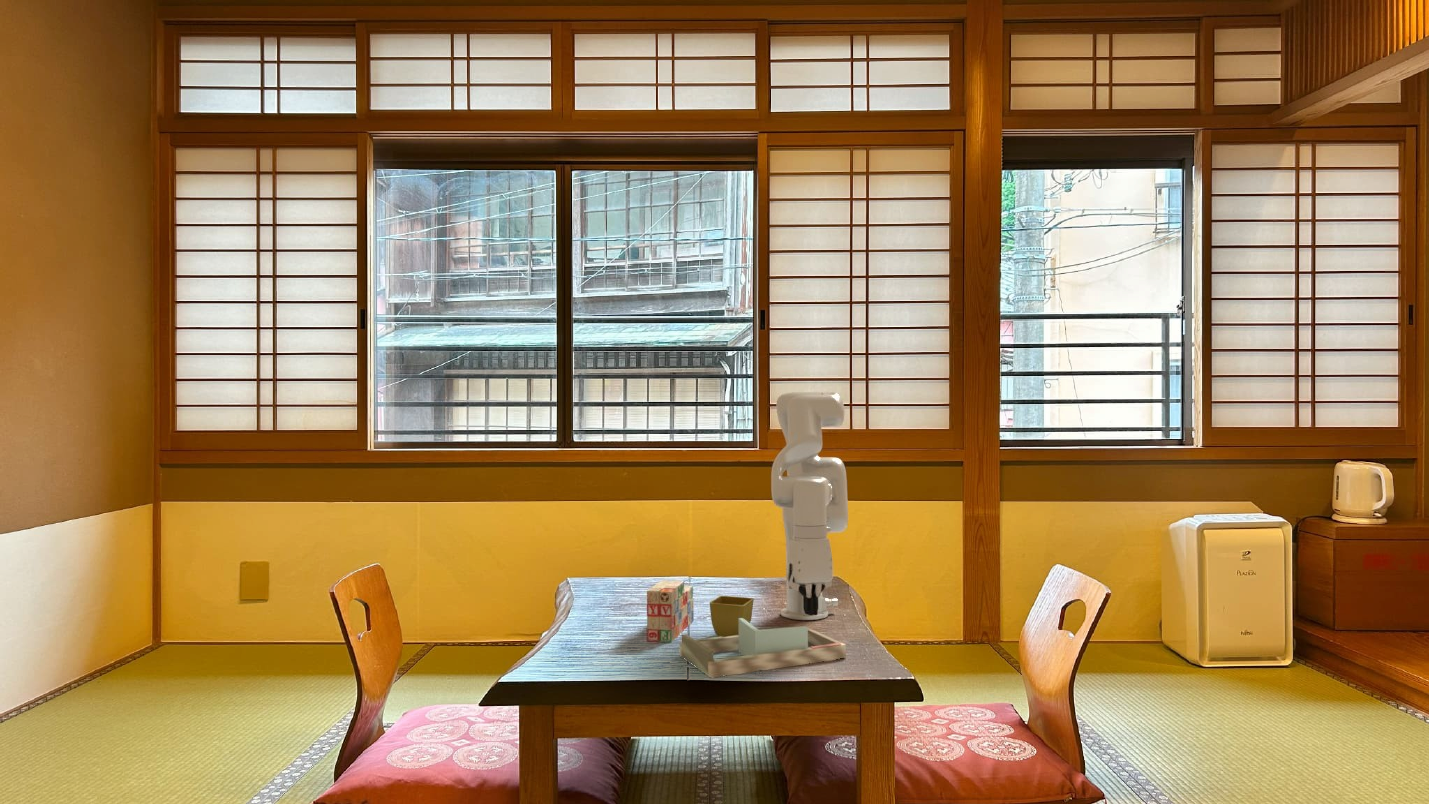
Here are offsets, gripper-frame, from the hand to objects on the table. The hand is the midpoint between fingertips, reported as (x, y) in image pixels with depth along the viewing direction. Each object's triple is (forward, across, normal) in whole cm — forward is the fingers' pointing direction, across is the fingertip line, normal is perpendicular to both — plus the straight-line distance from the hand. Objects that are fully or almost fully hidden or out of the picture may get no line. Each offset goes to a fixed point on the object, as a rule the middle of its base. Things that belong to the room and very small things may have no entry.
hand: (810, 614), depth 188 cm
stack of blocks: (+8, +22, -32) cm, 39 cm away
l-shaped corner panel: (+9, +10, 0) cm, 13 cm away
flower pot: (+8, +11, -19) cm, 23 cm away
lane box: (+8, +12, -1) cm, 15 cm away
